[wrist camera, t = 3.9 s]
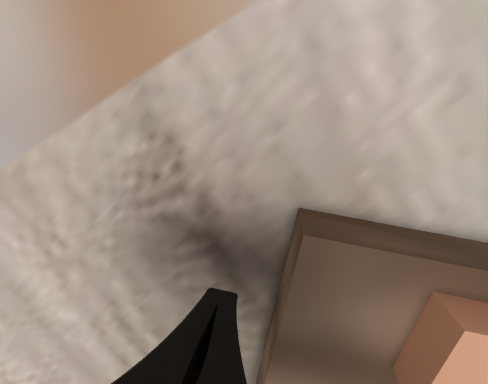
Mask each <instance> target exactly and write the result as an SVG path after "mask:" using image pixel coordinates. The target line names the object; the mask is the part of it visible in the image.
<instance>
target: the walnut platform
mask: <svg viewBox="0 0 488 384" xmlns="http://www.w3.org/2000/svg"><path fill="white" fill-rule="evenodd" d="M432 292H438V293H443V294H447V295H452V296H457V297H462V298H467V299H472V300H476V301H481V302H486V303H488V244H487V243H482V242H477V241H471V240H466V239H461V238H455V237H450V236H445V235H439V234H434V233H429V232H423V231H418V230H412V229H407V228H402V227H396V226H391V225H386V224H380V223H375V222H370V221H364V220H359V219H354V218H348V217H343V216H338V215H332V214H327V213H322V212H316V211H311V210H306V209H300V208H299V210H298V214H297V218H296V222H295V226H294V230H293V235H292V239H291V243H290V247H289V251H288V255H287V259H286V263H285V267H284V272H283V276H282V280H281V284H280V288H279V292H278V296H277V300H276V304H275V308H274V313H273V317H272V321H271V325H270V329H269V333H268V337H267V341H266V345H265V350H264V354H263V358H262V362H261V366H260V370H259V374H258V378H257V382H256V384H399V383H398V380H397V378H396V376H395V373H394V371H393V369H392V368H393V366H394V364H395V362H396V360H397V359H398V357H399V355H400V353H401V351H402V349H403V347H404V345H405V343H406V341H407V340H408V338H409V336H410V334H411V332H412V330H413V328H414V326H415V324H416V322H417V320H418V319H419V317H420V315H421V313H422V311H423V309H424V307H425V305H426V303H427V301H428V300H429V298H430V296H431V294H432Z"/></svg>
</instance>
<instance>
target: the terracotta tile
mask: <svg viewBox="0 0 488 384" xmlns="http://www.w3.org/2000/svg"><path fill="white" fill-rule="evenodd" d="M392 369H393V371H394V373H395V376H396V378H397V380H398V383H399V384H488V303H486V302H481V301H476V300H472V299H467V298H462V297H457V296H452V295H447V294H443V293H438V292H432V294H431V296H430V298H429V300H428V301H427V303H426V305H425V307H424V309H423V311H422V313H421V315H420V317H419V319H418V320H417V322H416V324H415V326H414V328H413V330H412V332H411V334H410V336H409V338H408V340H407V341H406V343H405V345H404V347H403V349H402V351H401V353H400V355H399V357H398V359H397V360H396V362H395V364H394V366H393V368H392Z"/></svg>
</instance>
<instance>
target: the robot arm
mask: <svg viewBox="0 0 488 384" xmlns="http://www.w3.org/2000/svg"><path fill="white" fill-rule="evenodd" d="M237 297H238V295H237V294H236V293H233V292H228V291H224V290H219V289H215V288H209V289H208V290H207V291H206V293H205V294H204V295H203V297H202V298H201V300H200V301H199V302H198V303H197V305H196V306H195V307H194V308H193V310H192V311H191V312H190V313H189V314H188V315H187V316H186V318H185V319H184V320H183V321H182V322H181V323H180V324H179V325H178V326H177V327H176V328H175V329H174V330H173V331H172V332H171V333H170V334H169V336H168V337H167V338H166V339H164V340H163V341H162V342H161V343H160V344H159V345H158V346H157V347H156V348H155V349H154V350H153V351H151V352H150V353H149V354H148V355H147V356H146V357H145V358H143V359H142V360H141V361H140V362H138V363H137V364H136V365H135V366H134V367H132V368H131V369H130V370H129V371H127V372H126V373H125V374H124V375H122V376H121V377H120V378H118V379H117V380H115V381H114V382H113V383H111V384H247V382H246V378H245V374H244V369H243V364H242V359H241V353H240V347H239V340H238V330H237V318H236V305H237Z"/></svg>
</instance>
